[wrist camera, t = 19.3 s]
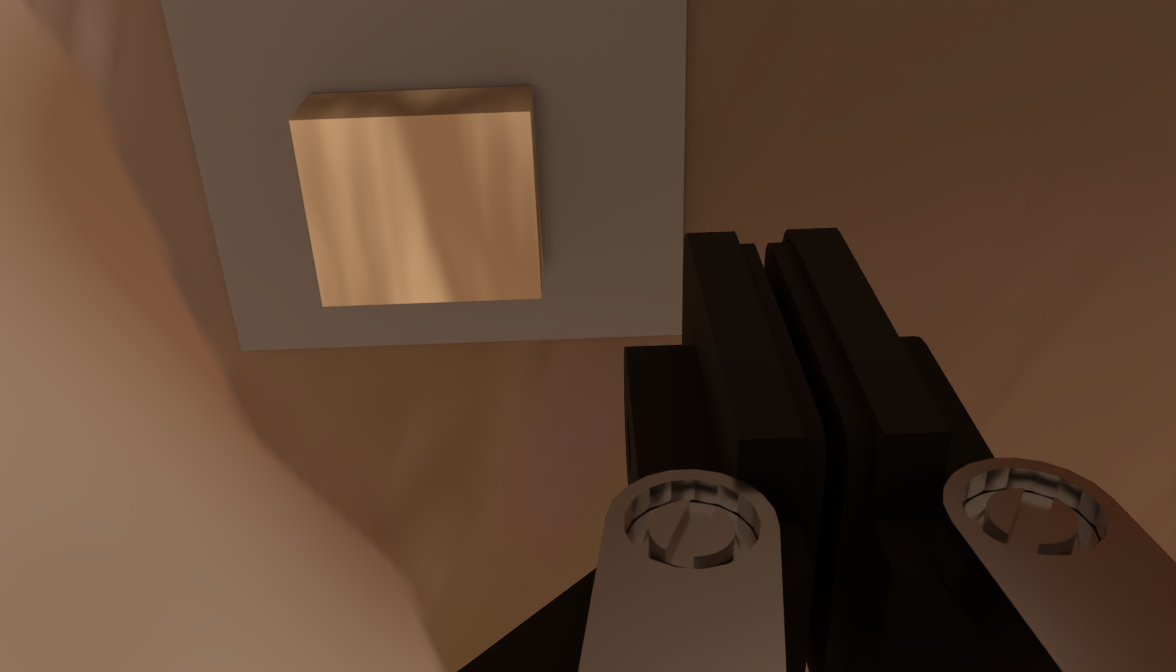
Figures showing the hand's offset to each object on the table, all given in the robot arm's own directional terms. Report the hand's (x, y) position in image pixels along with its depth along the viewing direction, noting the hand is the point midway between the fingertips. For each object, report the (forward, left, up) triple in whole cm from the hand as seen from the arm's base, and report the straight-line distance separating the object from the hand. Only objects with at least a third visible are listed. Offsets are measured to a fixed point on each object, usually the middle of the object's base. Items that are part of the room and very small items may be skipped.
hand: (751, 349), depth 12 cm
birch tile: (+4, +8, -25) cm, 26 cm away
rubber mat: (+7, +8, -27) cm, 29 cm away
